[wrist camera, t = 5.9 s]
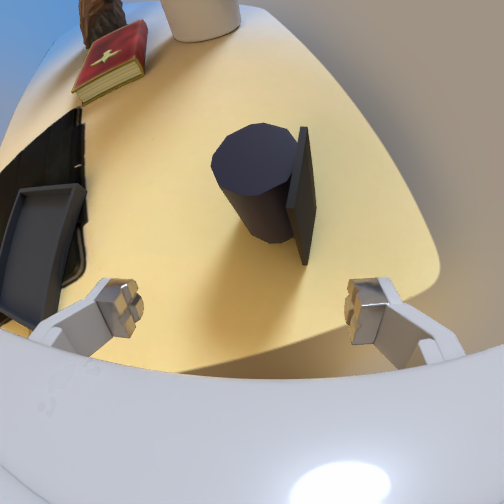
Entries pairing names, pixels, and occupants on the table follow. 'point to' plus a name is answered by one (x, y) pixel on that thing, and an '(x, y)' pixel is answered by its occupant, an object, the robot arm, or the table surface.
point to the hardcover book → (112, 62)
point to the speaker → (269, 183)
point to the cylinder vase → (201, 18)
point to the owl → (100, 18)
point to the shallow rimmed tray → (37, 251)
